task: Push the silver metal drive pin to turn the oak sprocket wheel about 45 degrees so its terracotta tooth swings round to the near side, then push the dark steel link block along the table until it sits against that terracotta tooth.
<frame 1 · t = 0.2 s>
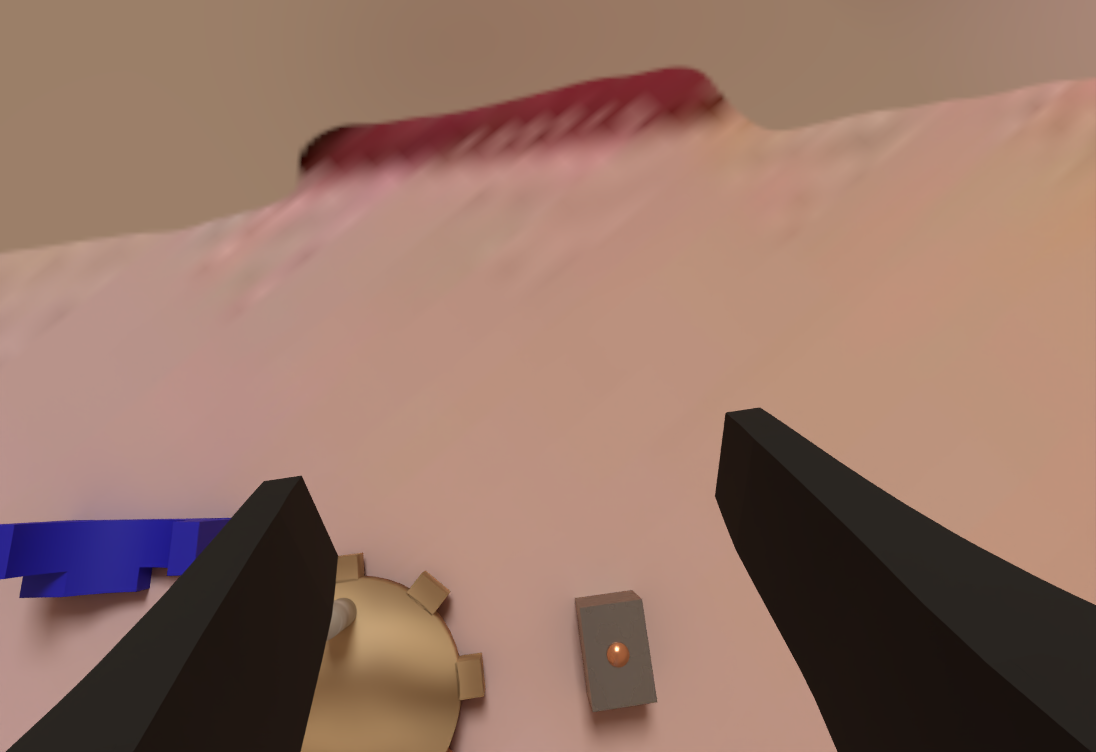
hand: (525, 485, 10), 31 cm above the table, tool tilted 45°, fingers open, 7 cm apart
cable clip: (157, 552, 38), on the table
sprocket wheel: (341, 703, 34), point 3 cm above the table, hinge at 0.0°
link block: (609, 639, 38), on the table
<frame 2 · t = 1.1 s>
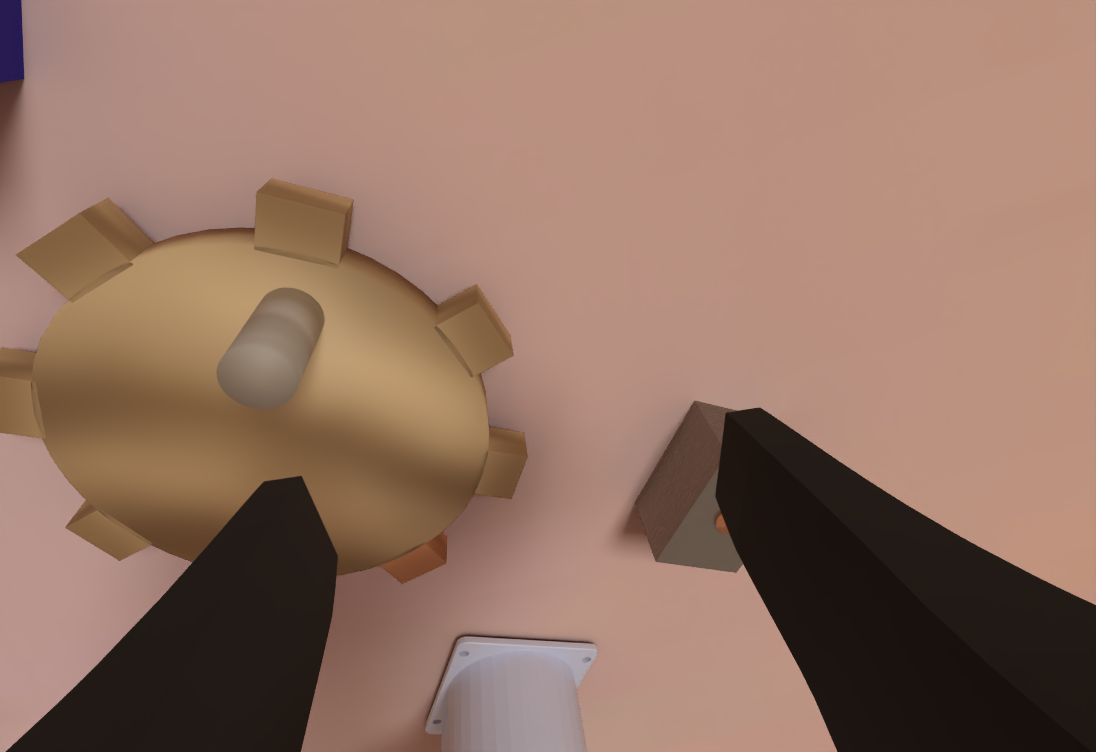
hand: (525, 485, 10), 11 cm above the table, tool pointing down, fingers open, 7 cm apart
sprocket wheel: (272, 464, 18), point 3 cm above the table, hinge at 0.0°
link block: (700, 459, 25), on the table
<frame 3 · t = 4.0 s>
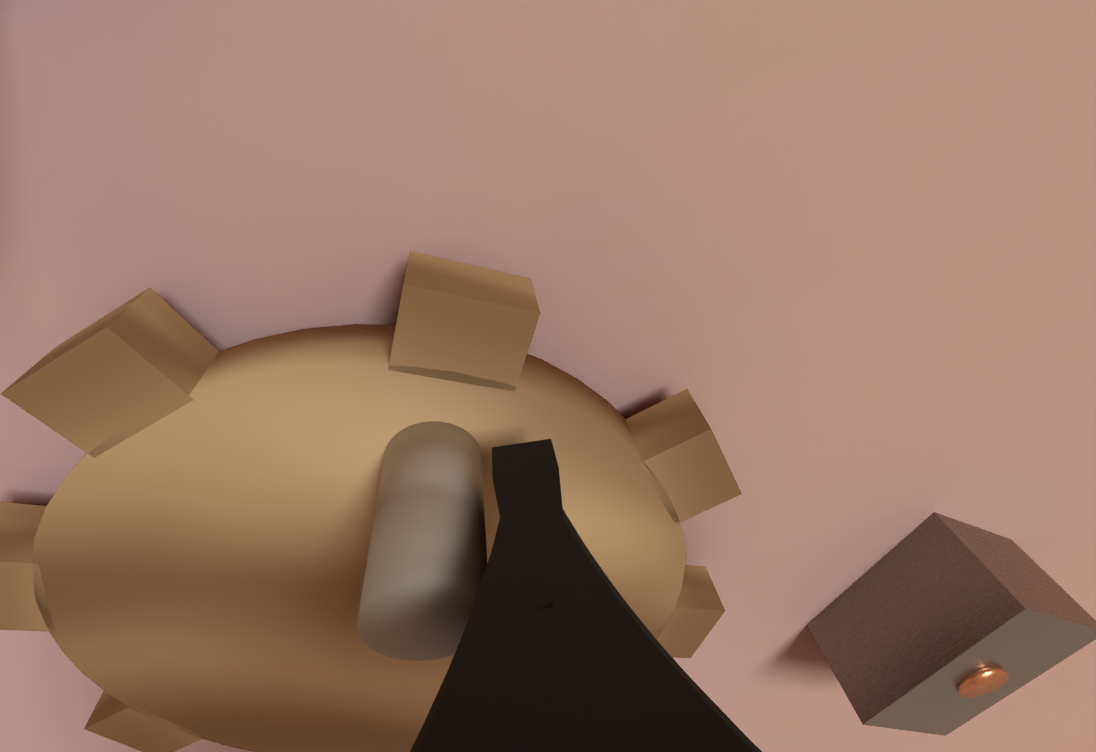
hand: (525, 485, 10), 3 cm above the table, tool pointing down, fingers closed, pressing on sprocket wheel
sprocket wheel: (389, 659, 12), point 3 cm above the table, hinge at 0.6°, touching gripper
link block: (902, 579, 19), on the table
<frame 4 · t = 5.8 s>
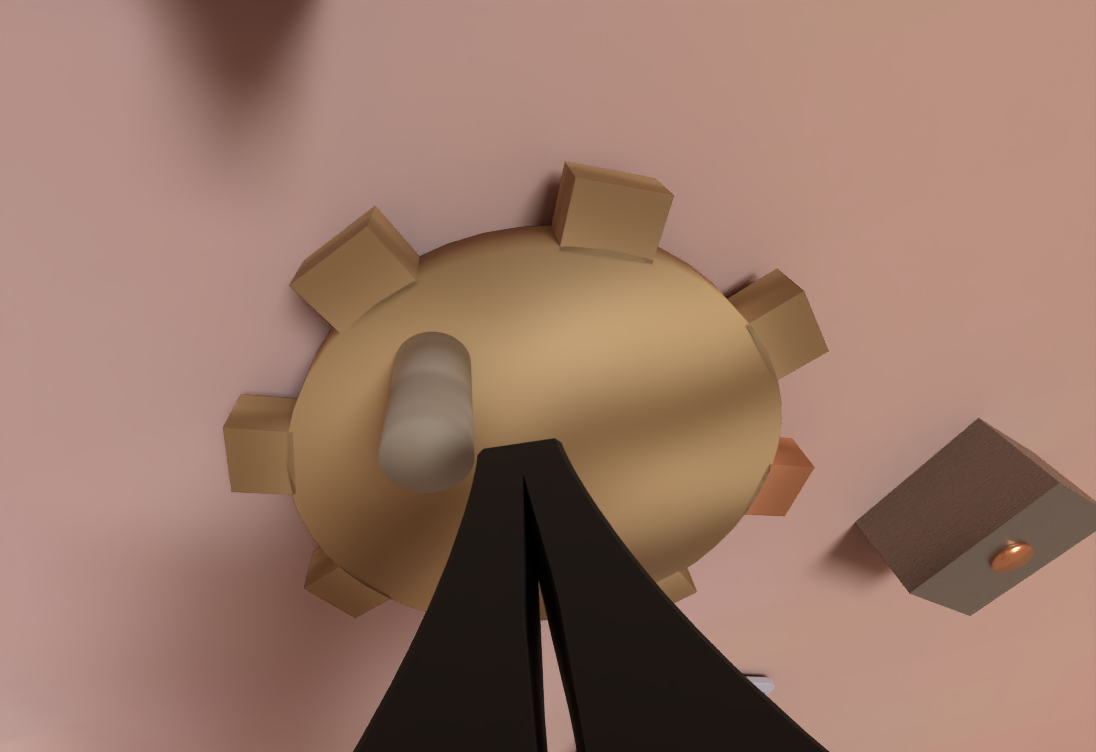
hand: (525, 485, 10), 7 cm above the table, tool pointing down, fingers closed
sprocket wheel: (551, 504, 15), point 3 cm above the table, hinge at 51.3°
link block: (939, 485, 22), on the table
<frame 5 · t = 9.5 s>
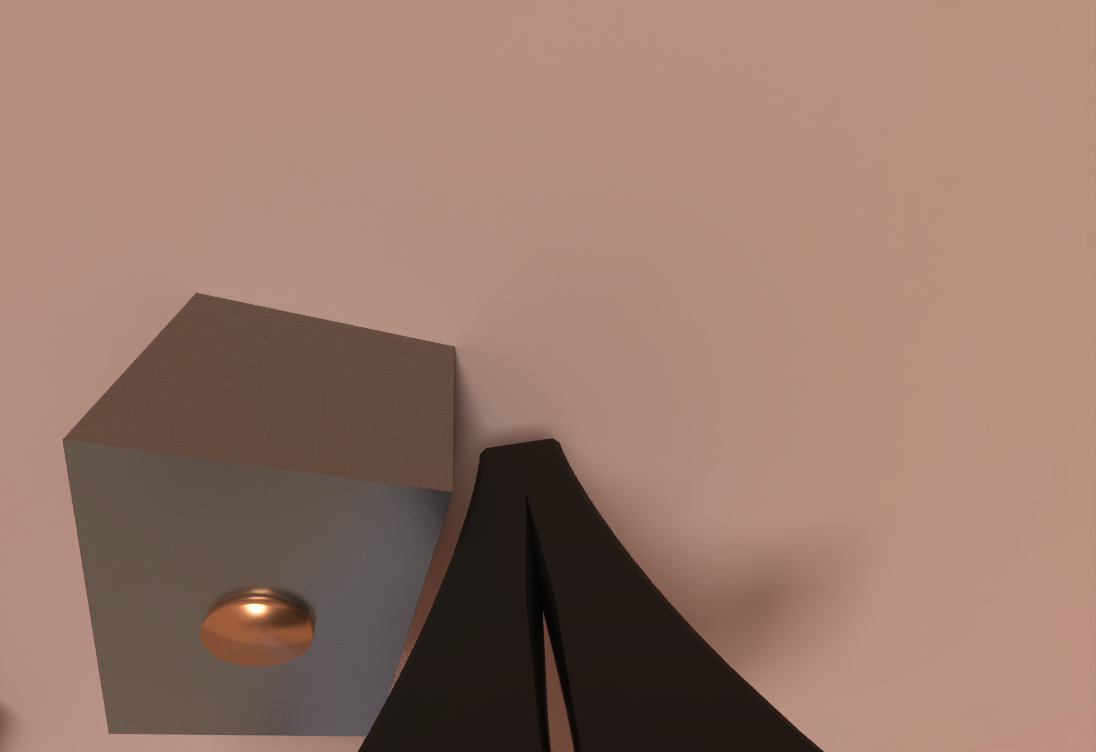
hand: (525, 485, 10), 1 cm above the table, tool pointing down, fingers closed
link block: (314, 457, 11), on the table, touching gripper
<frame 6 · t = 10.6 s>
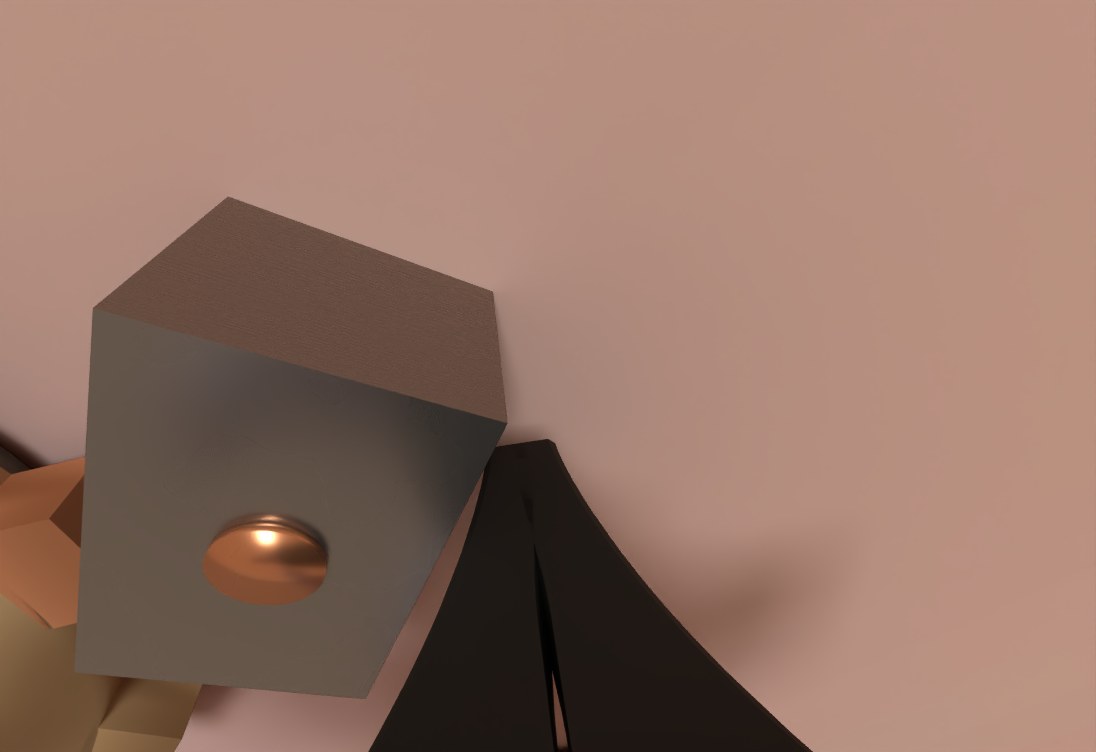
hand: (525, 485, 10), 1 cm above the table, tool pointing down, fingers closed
link block: (324, 398, 10), on the table, touching gripper, sprocket wheel
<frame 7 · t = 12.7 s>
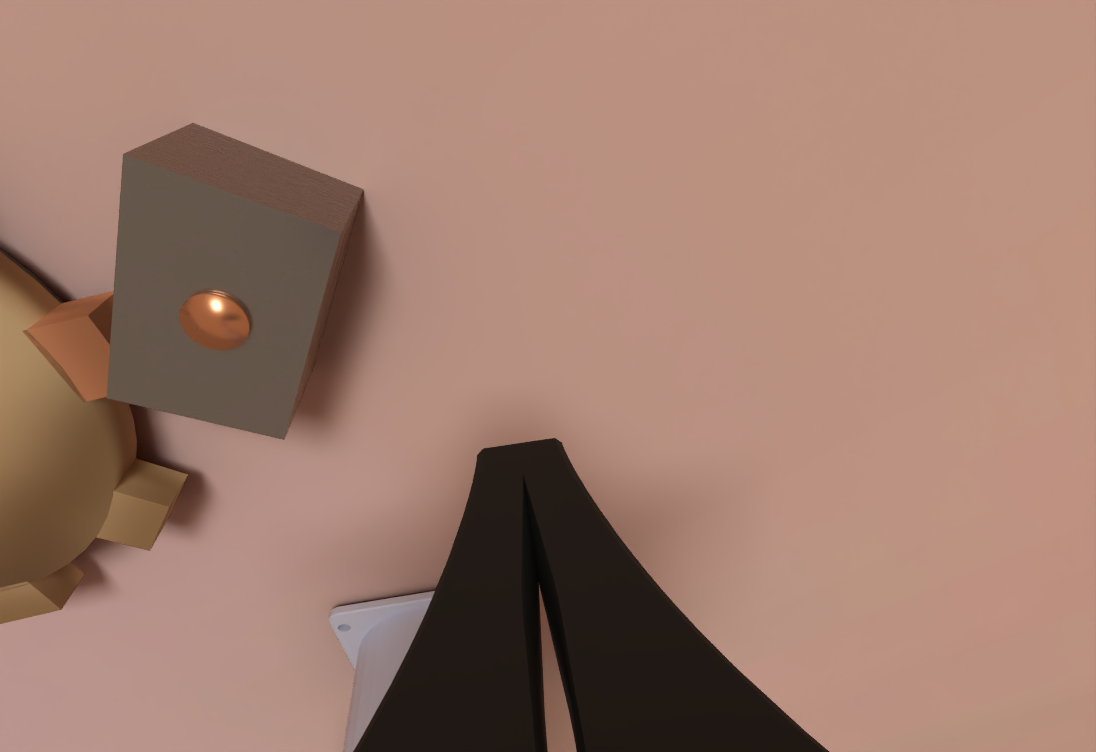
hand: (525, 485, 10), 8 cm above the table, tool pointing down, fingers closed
link block: (262, 260, 15), on the table
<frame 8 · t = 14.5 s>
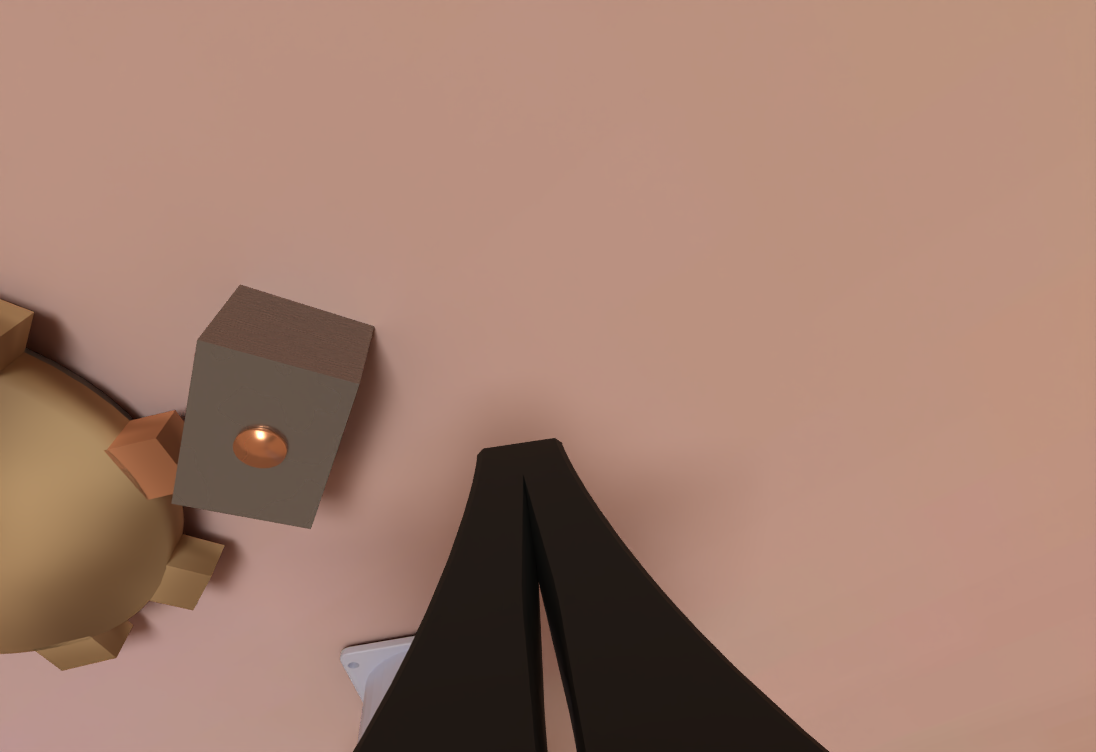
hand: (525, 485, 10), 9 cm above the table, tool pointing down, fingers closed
link block: (291, 378, 19), on the table
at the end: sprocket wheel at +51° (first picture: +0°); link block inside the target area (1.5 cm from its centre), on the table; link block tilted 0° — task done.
